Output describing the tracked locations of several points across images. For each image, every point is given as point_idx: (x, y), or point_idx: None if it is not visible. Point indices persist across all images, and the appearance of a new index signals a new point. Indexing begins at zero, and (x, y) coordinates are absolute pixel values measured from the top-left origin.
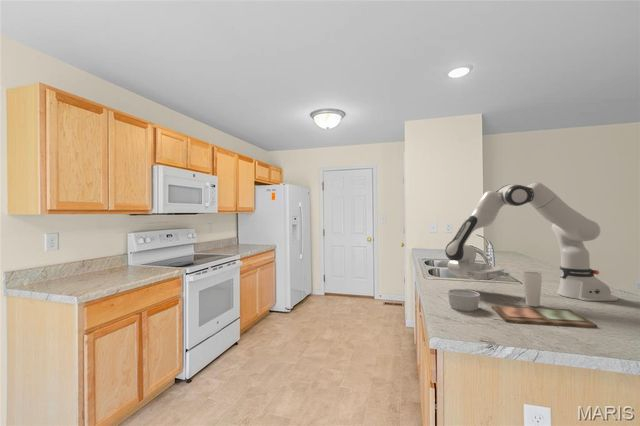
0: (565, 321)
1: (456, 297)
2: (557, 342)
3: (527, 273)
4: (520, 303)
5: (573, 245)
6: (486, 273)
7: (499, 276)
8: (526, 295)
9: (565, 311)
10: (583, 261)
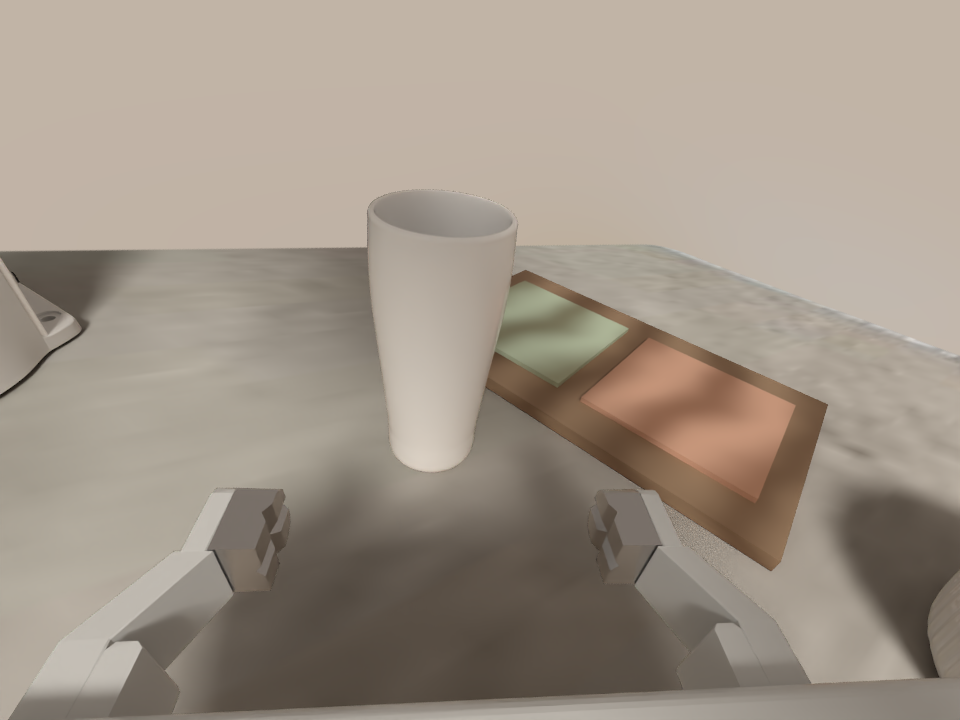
0: (586, 307)
1: None
2: (745, 303)
3: (516, 221)
4: (453, 505)
5: None
6: (850, 684)
7: (596, 497)
8: (476, 408)
9: None
10: None
